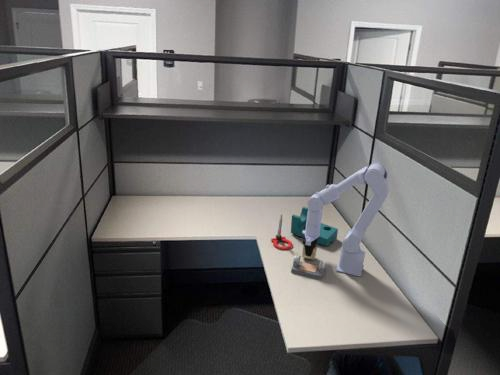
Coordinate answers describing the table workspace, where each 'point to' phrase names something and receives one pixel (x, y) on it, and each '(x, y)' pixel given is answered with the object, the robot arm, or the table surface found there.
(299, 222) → the teal l-shaped bracket
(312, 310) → the table surface
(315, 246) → the coupling block
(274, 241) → the tow hook
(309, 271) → the stand
